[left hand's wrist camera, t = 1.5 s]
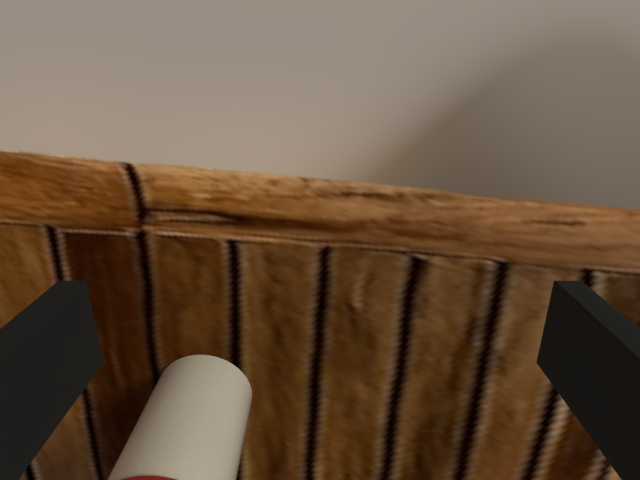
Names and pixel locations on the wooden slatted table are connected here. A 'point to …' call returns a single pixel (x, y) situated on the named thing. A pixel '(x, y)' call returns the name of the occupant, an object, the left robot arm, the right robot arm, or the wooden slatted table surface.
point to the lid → (148, 478)
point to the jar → (190, 423)
